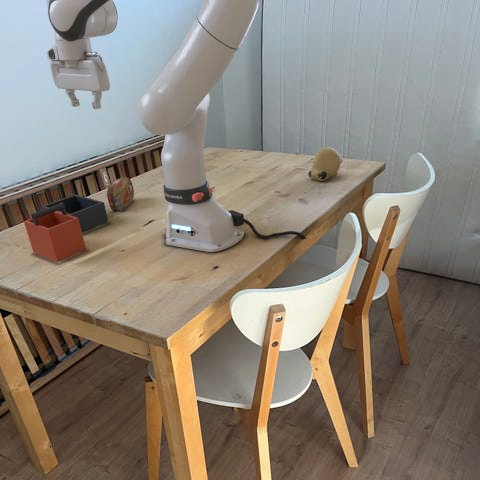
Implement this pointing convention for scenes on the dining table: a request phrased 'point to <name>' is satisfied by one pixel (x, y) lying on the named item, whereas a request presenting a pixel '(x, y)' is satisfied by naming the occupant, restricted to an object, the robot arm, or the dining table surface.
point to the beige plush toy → (325, 164)
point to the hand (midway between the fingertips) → (86, 107)
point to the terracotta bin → (55, 233)
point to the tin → (120, 193)
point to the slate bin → (83, 210)
